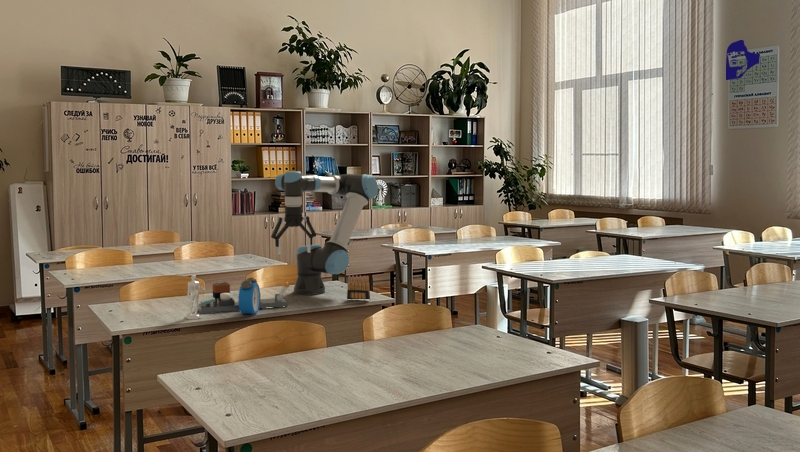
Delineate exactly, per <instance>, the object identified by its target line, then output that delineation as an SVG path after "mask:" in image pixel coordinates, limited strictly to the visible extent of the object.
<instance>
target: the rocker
mask: <svg viewBox="0 0 800 452" xmlns="http://www.w3.org/2000/svg"><path fill="white" fill-rule="evenodd" d="M199 302H200V304H201V305H205V304H208V303H213V302H216V301H215V298H213V297H211V298H206V299H204V300H200V301H199Z"/></svg>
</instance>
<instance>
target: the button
mask: <svg viewBox="0 0 800 452" xmlns="http://www.w3.org/2000/svg"><path fill="white" fill-rule="evenodd" d="M231 294H232V293H231V292H230V293H221V294H220V301H228V300H231V296H232V295H231Z"/></svg>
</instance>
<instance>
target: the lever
mask: <svg viewBox="0 0 800 452" xmlns="http://www.w3.org/2000/svg"><path fill="white" fill-rule="evenodd" d="M289 287H290V282H289V281H285V282H283V286H282V288H281V290H280V292H279V293H278V294H279V295H281V296H282V298H283V297H284V295H285V293H286V291H287V289H288V288H289ZM279 295H278V296H279Z"/></svg>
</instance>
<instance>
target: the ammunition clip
mask: <svg viewBox="0 0 800 452" xmlns="http://www.w3.org/2000/svg"><path fill="white" fill-rule="evenodd" d="M346 294H347V295H346V300H347V299H370V300H371V291H370V279H369V275H367V276H366V275H363V276H362V275H361V274H360V275H359V277H358V275H357V274H356V275H354V274H352V276H351V275H350V274H348V278H347V291H346Z"/></svg>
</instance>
